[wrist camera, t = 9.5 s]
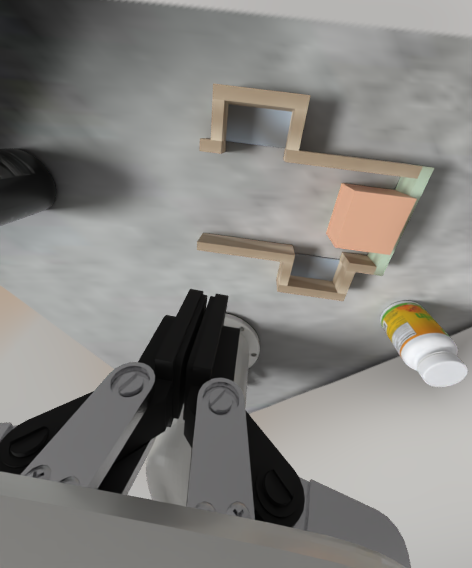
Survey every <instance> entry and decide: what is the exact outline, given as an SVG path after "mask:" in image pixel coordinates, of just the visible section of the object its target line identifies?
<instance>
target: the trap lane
mask: <svg viewBox="0 0 472 568" xmlns="http://www.w3.org/2000/svg"><path fill="white" fill-rule="evenodd" d="M309 100H310V95H304V94H296V93H287V92H279V91H271V90H262V89H254V88H245V87H237V86H228V85H220V84H213V102H212V124H211V139H207V138H201V139H200V151H204V152H212V153H219V154H221V153H224V152H225V149H226V141H231V142H238V143H246V144H254V145H262V146H270V147H278V148H285V152H284V158H283V160H284V161H285V162H290V163H298V164H306V165H313V166H321V167H329V168H337V169H345V170H353V171H361V172H368V173H376V174H384V175H392V176H400V179H399V182H398V184H397V186H396V189H395V190H396V191H399V192H401V193H404V194H406V195H409V196H411V197H414V198H416V199H417V200H416V202H415V204H414V206H413V208H412V210H411V212H410V214H409V217H408V219H407V221H406V223H405V225H404V227H403V229H402V231H401V233H400V235H399V237H398V240H397V242H396V244H395V246H394V248H393V250H392V252H391V254H390V255H386V254H379V253H371V252H368V255H360V254H353V253H345V252H342V254H341V257H340V259H332V258H325V257H318V256H310V255H303V254H296V253H294V249H293V245H287V244H280V243H273V242H266V241H258V240H251V239H244V238H237V237H229V236H222V235H215V234H208V233H203V234H202V235H201V237H200V238H199V240H198V241H197V250H201V251H208V252H215V253H222V254H229V255H237V256H244V257H251V258H258V259H265V260H272V261H279V262H280V266H279V270H278V274H277V279H276V281H277V292H283V293H290V294H297V295H304V296H311V297H318V298H325V299H332V300H339V301H344V299H345V296H346V294H347V291H348V289H349V286H350V284H351V282H352V279H353V277H354V274H355V272H358V273H365V274H372V275H379V276H383V274H384V272H385V270H386V268H387V265H388V263H389V261H390V259H391V257H392V255H393V253H394V251H395V249H396V247H397V245H398V243H399V241H400V238H401V236H402V234H403V232H404V230H405V228H406V226H407V224H408V222H409V220H410V218H411V216H412V214H413V212H414V209H415V207H416V205H417V203H418V201H419V199H420V197H421V195H422V193H423V191H424V189H425V187H426V185H427V183H428V180H429V178H430V176H431V174H432V172H433V170H434V168H431V167H426V166H420V165H414V164H406V163H398V162H390V161H382V160H374V159H366V158H358V157H350V156H342V155H334V154H326V153H318V152H310V151H302V150H299V147H300V143H301V138H302V133H303V129H304V124H305V119H306V114H307V110H308V105H309Z"/></svg>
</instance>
